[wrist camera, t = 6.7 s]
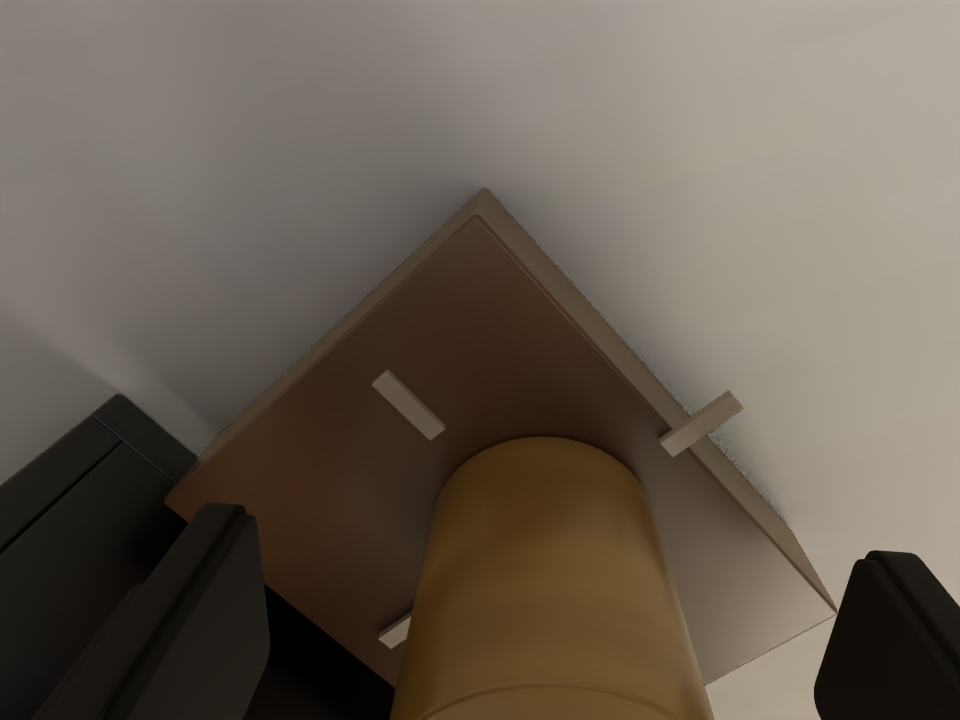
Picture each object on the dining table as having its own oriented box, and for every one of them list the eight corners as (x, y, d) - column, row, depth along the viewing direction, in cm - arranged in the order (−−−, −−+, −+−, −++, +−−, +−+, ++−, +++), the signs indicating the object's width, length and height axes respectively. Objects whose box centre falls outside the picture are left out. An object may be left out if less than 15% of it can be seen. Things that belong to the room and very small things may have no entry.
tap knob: (560, 391, 11) (588, 646, 6) (700, 547, 12) (817, 871, 7) (386, 516, 12) (293, 812, 7) (526, 648, 13) (527, 983, 8)
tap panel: (836, 502, 14) (900, 590, 12) (518, 693, 17) (517, 796, 15) (531, 143, 12) (532, 162, 9) (217, 435, 15) (155, 508, 12)
